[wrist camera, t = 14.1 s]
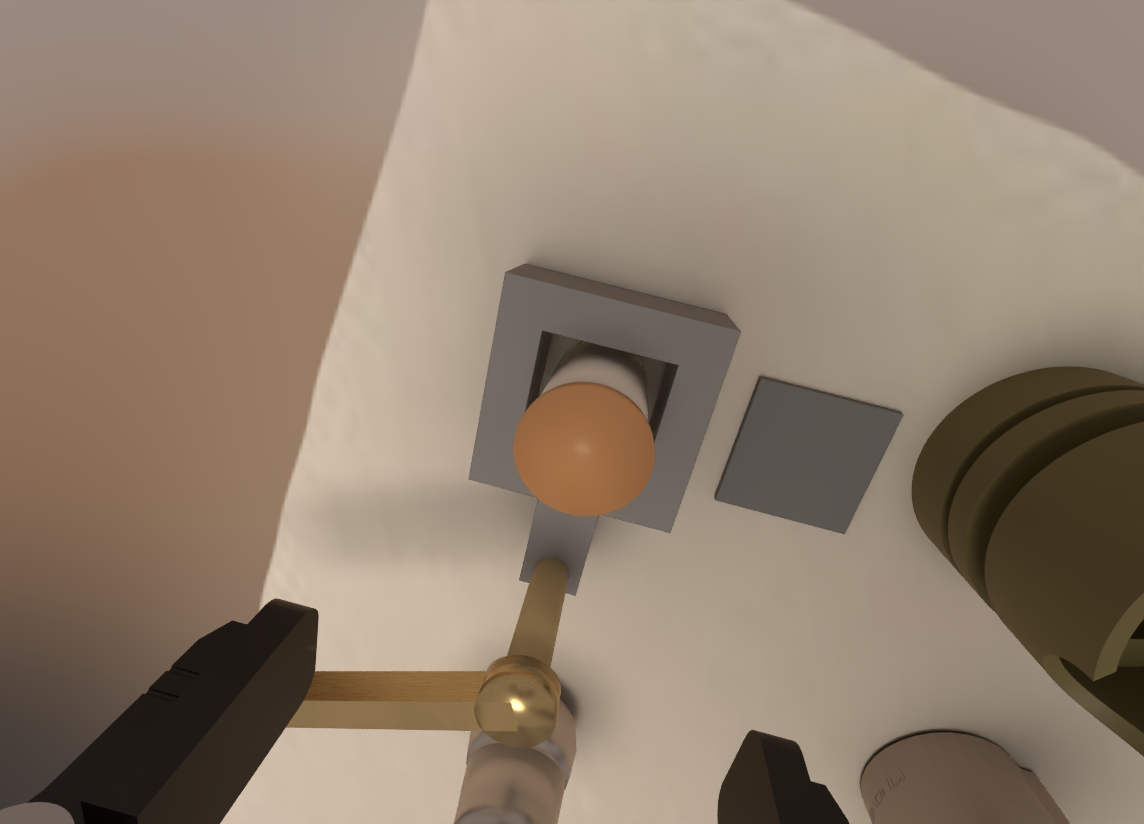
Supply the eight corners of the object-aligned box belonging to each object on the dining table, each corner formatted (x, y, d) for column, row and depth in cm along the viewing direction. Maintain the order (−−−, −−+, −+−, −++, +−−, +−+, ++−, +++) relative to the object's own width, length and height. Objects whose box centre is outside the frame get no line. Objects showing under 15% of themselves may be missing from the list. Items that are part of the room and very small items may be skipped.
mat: (899, 412, 26) (903, 414, 26) (841, 529, 29) (844, 534, 28) (759, 376, 27) (761, 378, 26) (714, 496, 29) (715, 500, 29)
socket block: (726, 314, 26) (779, 377, 16) (641, 565, 31) (641, 729, 21) (524, 263, 26) (453, 294, 16) (476, 521, 31) (400, 661, 22)
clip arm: (217, 612, 25) (141, 683, 21) (565, 605, 22) (549, 685, 19) (238, 662, 26) (169, 739, 22) (574, 661, 23) (560, 748, 20)
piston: (1194, 848, 18) (1020, 633, 16) (985, 607, 29) (866, 462, 27) (1651, 705, 15) (1499, 406, 13) (1214, 492, 26) (1097, 316, 24)
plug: (663, 349, 27) (672, 407, 19) (635, 442, 29) (633, 531, 21) (562, 323, 27) (528, 370, 19) (541, 417, 29) (501, 496, 21)
